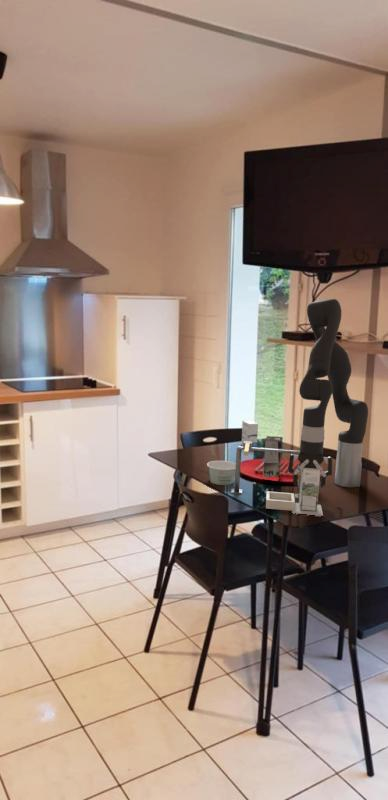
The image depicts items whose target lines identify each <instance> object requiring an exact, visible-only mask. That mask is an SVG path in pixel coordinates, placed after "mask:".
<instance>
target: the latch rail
mask: <svg viewBox="0 0 388 800" xmlns="http://www.w3.org/2000/svg"><path fill="white" fill-rule="evenodd" d="M244 449H245V447H243V445H242V446H241V445H238V446H237V448H236V452H235V455H236V456H235V463H236V469H235V478H234V487H233V488H231V489H230V490H231V491H230V494H232V495H233V494H235V495H242V494H243V490H244V489H242V488H241V489H240V483H241V482H240V481H241V464H242V452H243V451H244ZM249 451H252V452H253V451H255V452H258V451H259V452H265V451H266V452H280V453H283V454H293V455H299V453H300V450H296V449H295V450H294V449H283V448H282V449H270V448H265V447H257V448H256V447H252V448H249ZM300 481H301V470H300V479H299V488H298V493H294V499H295V500H299V493H300Z"/></svg>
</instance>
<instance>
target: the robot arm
mask: <svg viewBox="0 0 388 800" xmlns="http://www.w3.org/2000/svg"><path fill="white" fill-rule="evenodd" d="M306 311H307V312H306V314H307V319H308V322H309V325H310V327H311V330H312V333H313V335H314V338H315V340H316V342H315V343H314V344H313V346H312V348H311V350H310V353H309V359H308V366H307V370H306V372H305V375H304V377H303V379H302V381H301V383H300V385H299V390H298V392H299V395H300V397H301V398H302V399H303V400H306V401H316V402H317V401H319V402H320V403H319V404H317V405H314V406H308V407H305V408H304V409H303V412H302V413H303V414H302V415H303V416H302V425H301V426H302V427H301V432H300V444H299V451H300V453H299V454H293V453H289V459H288V460H289V461H288V468H287V469H288V470H287V471H288V472H289V473H290V474H293V477H292V483H293V484H294V486H298V475H299V471H300V470H302V468H303V467H305V468H317V469H319V470H320V483H319V487H320V488H324V487H325V486H326V480H327V479H326V478H327V477H328V476H332V474H333V473H332V472H333V458H332V456H324V455H323V454H324V442H325V441H324V440H325V420H326V419H325V418H326V411H327V408H328V405H329V402H330V399H331V397H332V400H333V404H334V405H333V406H334V412H335V415H336V417H337V418H338V420H339V421H341V422H343V423H347V424H349V429H348V430H344V431H340V432H339V433H338V437H337V451H336V458H335V459H336V461H335V472H334V473H335V474H334V484H335V485H337V486H340V487H344V488H360V487H361V479H362V467H363V466H362V465H363V462H362V454H363V444H364V438H365V436H366V430H367V424H368V417H369V406H368V404H367V403H366V402H365V401H362V400H359V399H352V398H350V396H349V392H348V388H347V387H348V382H349V380H350V378H351V374H352V365H351V362H350V358H349V355H348V353H347V351H346V349H345V348H343V346H342V345H341V344H339V343H338V342H336V338H337V335H338V332H339V328H340V326H341V325H340V324H341V321H342V306H341V304H340V302H339V301H338V299H335V298H328V299H323V300H317V301H312V302H310V303H309V304H308V305H307V308H306ZM325 377H327V379H321V378H325ZM297 460H298V461H299V463H298V464H297V466H296V467H295V468H293V467H294V462H296V461H297ZM324 461H325V464H327V470H324V468H323V467H322V463H323V462H324Z"/></svg>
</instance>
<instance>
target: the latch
mask: <svg viewBox="0 0 388 800" xmlns="http://www.w3.org/2000/svg"><path fill="white" fill-rule="evenodd" d="M242 446H243V447H245V449H244V450H243V456H249V451H250V450H249V448H252V442H251V441H244V443H243V445H242Z"/></svg>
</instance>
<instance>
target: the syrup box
mask: <svg viewBox="0 0 388 800" xmlns="http://www.w3.org/2000/svg"><path fill="white" fill-rule="evenodd" d="M320 482H321V473H320V470H319V469H317V468H305V467H303V468H302V470H301V481H300V493H299V499H298V503H299V508H300V510H305V511H317V505H318V503H319V489H320Z"/></svg>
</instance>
